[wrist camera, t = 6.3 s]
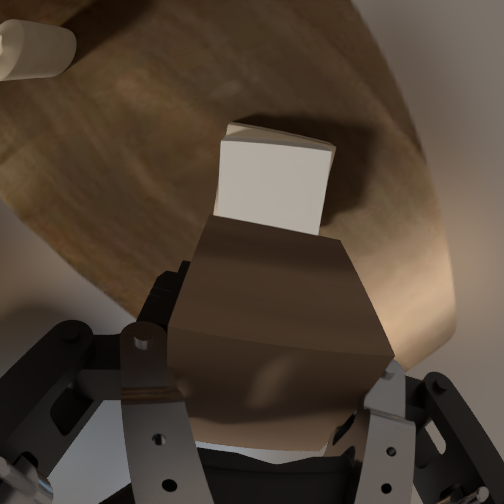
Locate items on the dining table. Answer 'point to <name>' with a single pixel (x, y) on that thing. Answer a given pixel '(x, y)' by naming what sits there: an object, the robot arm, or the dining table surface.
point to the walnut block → (272, 337)
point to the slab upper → (273, 182)
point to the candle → (34, 50)
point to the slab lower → (267, 133)
